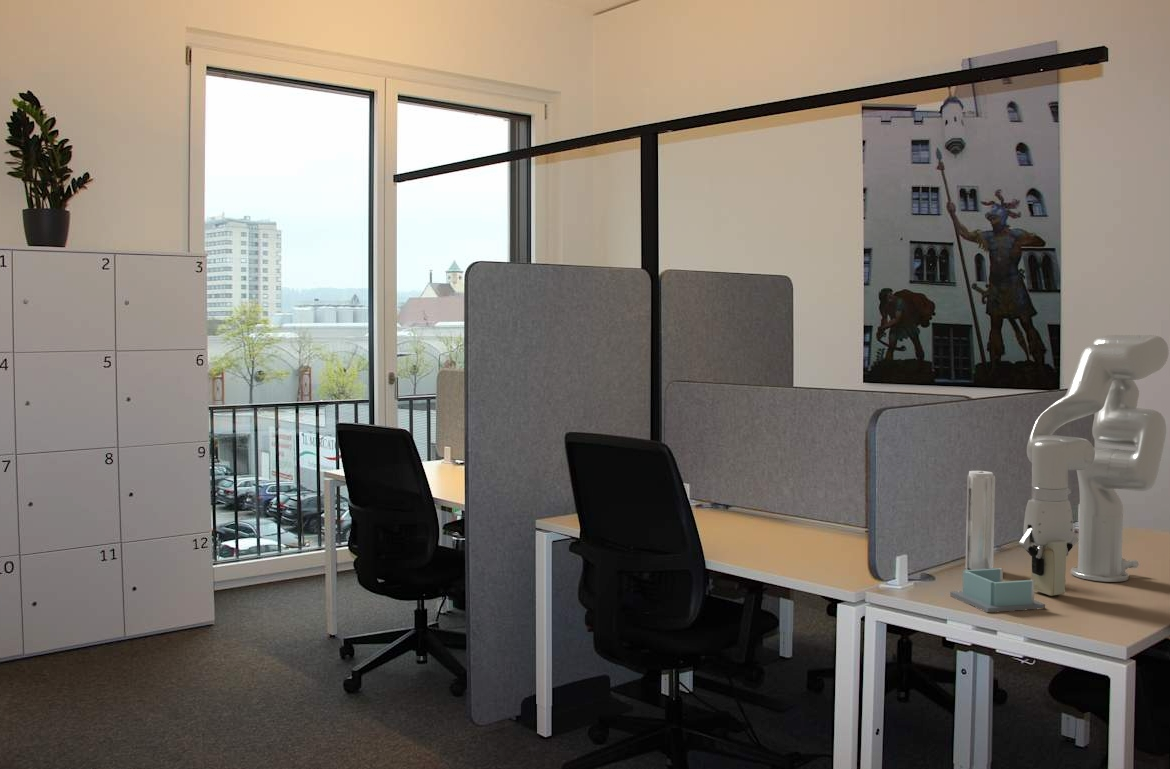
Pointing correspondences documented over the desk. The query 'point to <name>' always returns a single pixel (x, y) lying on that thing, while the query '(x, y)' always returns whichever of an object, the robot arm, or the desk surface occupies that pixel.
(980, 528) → the tall white box
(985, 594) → the holder
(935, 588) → the desk surface
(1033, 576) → the skincare box
